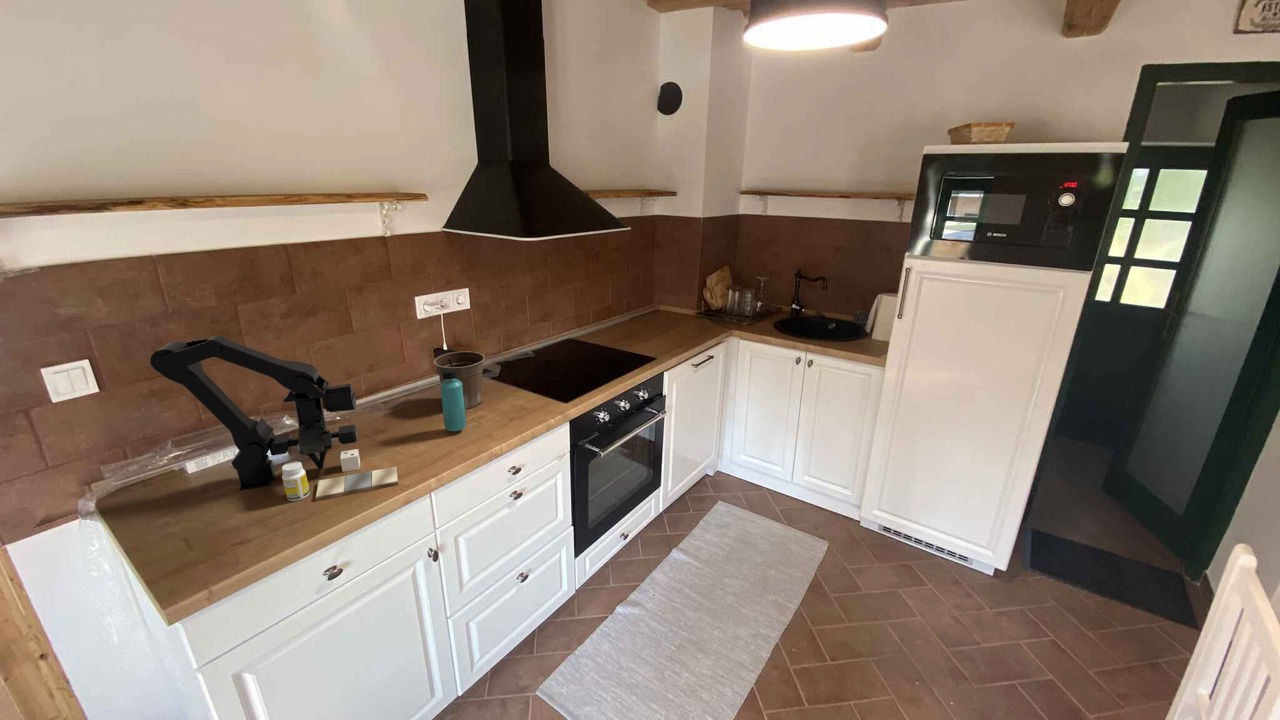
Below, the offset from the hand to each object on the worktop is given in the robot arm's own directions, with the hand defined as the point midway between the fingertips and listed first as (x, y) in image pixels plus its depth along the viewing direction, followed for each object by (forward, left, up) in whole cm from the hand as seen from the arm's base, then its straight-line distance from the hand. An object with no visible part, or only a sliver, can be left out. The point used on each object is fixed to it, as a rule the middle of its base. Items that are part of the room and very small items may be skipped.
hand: (321, 468), depth 136 cm
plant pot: (+40, +32, -1) cm, 51 cm away
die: (+7, 0, -1) cm, 7 cm away
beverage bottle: (+35, +11, -1) cm, 37 cm away
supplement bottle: (-4, -10, -1) cm, 11 cm away
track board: (+9, -10, -1) cm, 13 cm away
